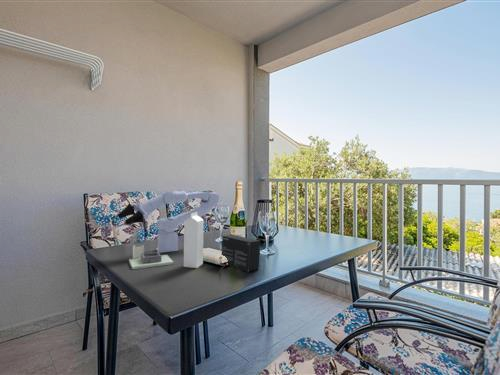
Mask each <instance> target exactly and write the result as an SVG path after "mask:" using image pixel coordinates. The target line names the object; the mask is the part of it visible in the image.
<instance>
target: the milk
mask: <svg viewBox="0 0 500 375" xmlns="http://www.w3.org/2000/svg"><path fill="white" fill-rule="evenodd" d="M204 223H205V222H204V219H203V218H202V217H199V216H198V215H197V212H195V213H191V217H190V218H188V219H187V220H185V221H184V224H183V226H184V227H183V267H185V268H193V269H198V268H199V267H201V266H202V265H203V264H204Z"/></svg>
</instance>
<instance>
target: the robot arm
mask: <svg viewBox="0 0 500 375" xmlns="http://www.w3.org/2000/svg"><path fill="white" fill-rule="evenodd" d="M191 199H192V200H193V199H199V200H200V205H199V206H198V207H195V208H193V209H191V210H188V211H185V212H183V213H180V214H178V215H177V214H176V215H174V216H170V217H169V216H168V217H166V218H165V217H162V218H159V219H158V220H157V221H156V223H155V224H156V225H155V226H156V228H157V230H158V232H157V248H155V250H156V252H159V253H160V254H162V253H170V252H178V251H179V235H178V234H179V233H178V232H177V231H175V230H176V229H178V228H179V227H180V226H181V225H184V221H185V220H187V219H188V218H190V217H191V213H195V212H197V215H198V216H199V217H200V218H202V217H203V216H205V215H209V213H210V212H211V211H212V210H213V208H214V207H216V206H217V205H218V204H219V201H220V196H219V194H218V193H217V192H210V191H193V192H191V191H190V192H186V191H185V190H183V189H179V190H175V191H174V190H169V192H168V191H161V192H160V193H159V194H158V195H157V196H154V197H152V198H150V199H148V200H145V201H144V202H141V203H139V202H137V203H132V204H130V203H128V204H127V205H126V207H125V208H123V210H121V211H120V212H119V213H118V214H117V216H118V218H119V219H123V218H126V217H128V218H126V219H125V220H124V223H125V225H126V226H128V225H132V224H136V223H144V222H145V221H144V220H148V219H150V217H149V214H150V213H152V212H154V211H156V210H158V209H160V208H162V207H163V206H165V205H168V204H169V205H172V204H174V203H175V204H176V203H184V202H186V201H187V200H191Z"/></svg>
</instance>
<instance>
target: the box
mask: <svg viewBox="0 0 500 375" xmlns="http://www.w3.org/2000/svg"><path fill="white" fill-rule="evenodd" d="M260 248H261V240H258V239H254V238H250V237H244V236H240V235H234V234H225V235H221V255H223V256H225V257H226V258H227V260H228V265H227V266H230V267H232V268H235V269H238V270H241V271H243V270H244V272H246V271H247V273H250V272H249V271H251V272H253V271H252V270H254V271H256V270H255V269H258V268H259V269H260V250H261V249H260ZM259 269H258V270H259Z"/></svg>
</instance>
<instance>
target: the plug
mask: <svg viewBox="0 0 500 375" xmlns="http://www.w3.org/2000/svg"><path fill="white" fill-rule="evenodd" d="M141 253H145V246H144V244H143V243H142V244H141V243H140V244H132V259H133V258H141Z"/></svg>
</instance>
